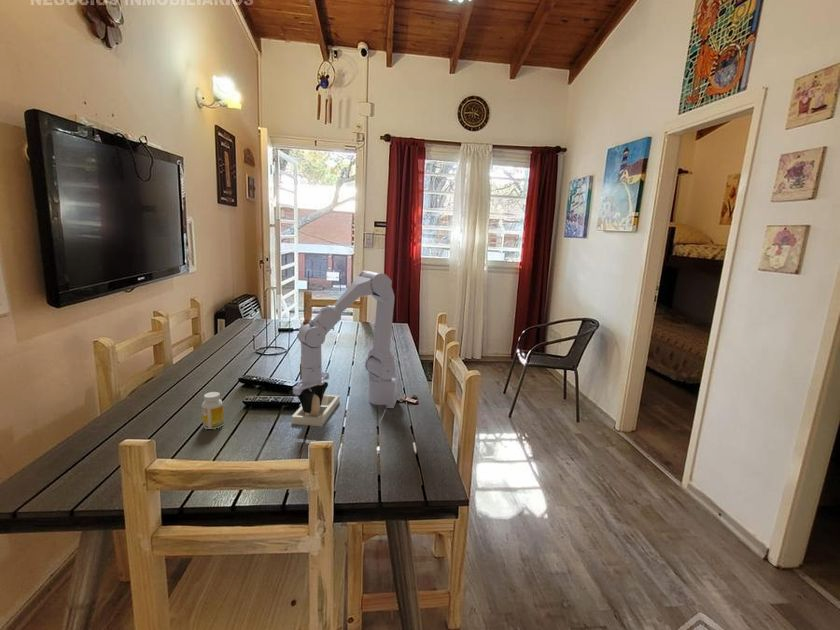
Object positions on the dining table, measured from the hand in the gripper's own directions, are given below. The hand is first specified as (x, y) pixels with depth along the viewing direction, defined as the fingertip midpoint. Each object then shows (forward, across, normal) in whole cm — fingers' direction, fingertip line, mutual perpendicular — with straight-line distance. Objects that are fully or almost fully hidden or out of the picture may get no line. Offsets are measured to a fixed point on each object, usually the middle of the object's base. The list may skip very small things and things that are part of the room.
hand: (312, 408), depth 123 cm
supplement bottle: (+4, -15, +23) cm, 28 cm away
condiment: (+4, +21, +17) cm, 27 cm away
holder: (+4, +4, +1) cm, 5 cm away
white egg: (+3, +8, +2) cm, 9 cm away
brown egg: (+2, 0, 0) cm, 2 cm away
